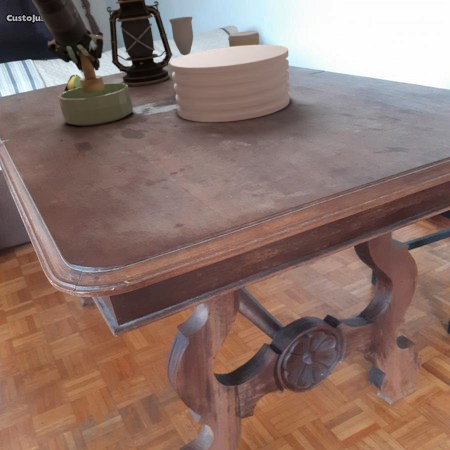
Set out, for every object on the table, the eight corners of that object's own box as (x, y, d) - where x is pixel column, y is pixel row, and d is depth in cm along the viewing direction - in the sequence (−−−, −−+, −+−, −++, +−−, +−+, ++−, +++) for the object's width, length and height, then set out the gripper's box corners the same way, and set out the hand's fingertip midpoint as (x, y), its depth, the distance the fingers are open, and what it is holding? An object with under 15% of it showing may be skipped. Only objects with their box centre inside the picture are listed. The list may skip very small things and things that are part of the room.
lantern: (114, 89, 153) (89, -23, 136) (118, 80, 166) (96, -23, 148) (176, 81, 153) (159, -31, 136) (175, 73, 166) (160, -31, 149)
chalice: (177, 86, 147) (167, 19, 136) (199, 82, 147) (191, 16, 137) (180, 90, 141) (170, 20, 130) (202, 87, 141) (194, 17, 131)
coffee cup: (236, 74, 152) (233, 32, 145) (264, 73, 149) (262, 30, 142) (227, 81, 145) (223, 36, 138) (257, 79, 142) (254, 34, 135)
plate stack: (200, 94, 133) (194, 49, 127) (299, 90, 125) (298, 41, 118) (159, 123, 112) (150, 70, 105) (275, 120, 103) (273, 63, 97)
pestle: (81, 94, 117) (68, 44, 111) (83, 90, 122) (71, 42, 115) (104, 91, 118) (92, 41, 111) (105, 87, 122) (93, 39, 116)
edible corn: (86, 87, 161) (83, 72, 159) (80, 99, 145) (76, 83, 142) (71, 89, 161) (67, 74, 158) (64, 102, 145) (59, 86, 142)
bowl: (61, 131, 116) (53, 103, 112) (69, 114, 130) (62, 88, 126) (133, 120, 117) (127, 92, 113) (133, 104, 131) (128, 79, 127)
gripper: (92, -4, 102) (117, 51, 119) (29, 4, 103) (63, 58, 120) (92, 27, 100) (118, 78, 117) (29, 35, 101) (63, 84, 118)
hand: (90, 67), depth 118 cm, fingers closed on pestle, 3 cm apart
